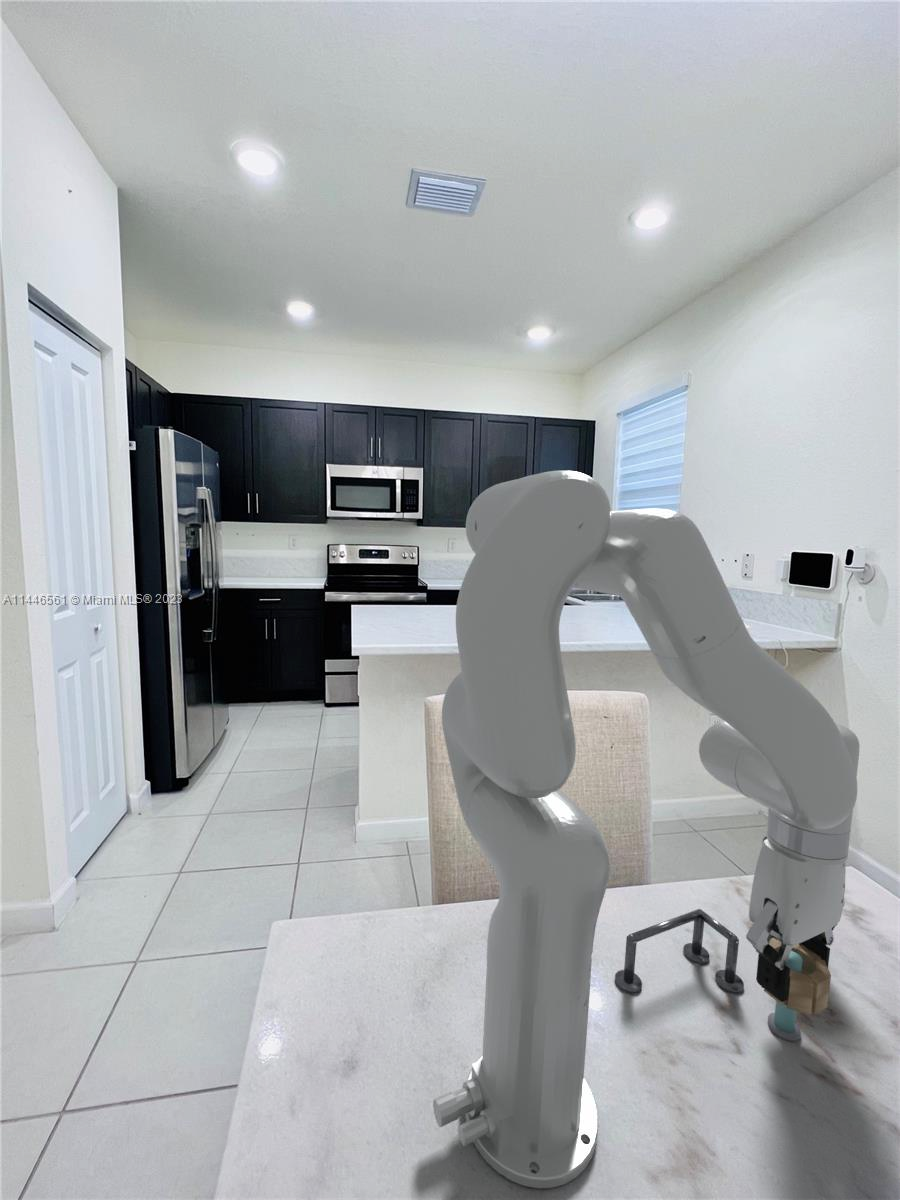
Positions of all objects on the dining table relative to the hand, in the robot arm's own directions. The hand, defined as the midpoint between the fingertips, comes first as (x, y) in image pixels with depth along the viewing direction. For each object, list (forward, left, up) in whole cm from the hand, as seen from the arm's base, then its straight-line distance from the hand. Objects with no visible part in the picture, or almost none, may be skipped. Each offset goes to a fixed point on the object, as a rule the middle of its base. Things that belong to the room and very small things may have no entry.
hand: (791, 979), depth 61 cm
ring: (0, 0, -1) cm, 1 cm away
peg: (0, 0, -6) cm, 6 cm away
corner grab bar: (-6, +10, -6) cm, 13 cm away
